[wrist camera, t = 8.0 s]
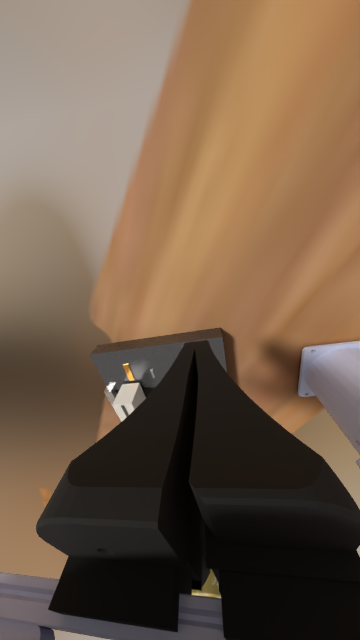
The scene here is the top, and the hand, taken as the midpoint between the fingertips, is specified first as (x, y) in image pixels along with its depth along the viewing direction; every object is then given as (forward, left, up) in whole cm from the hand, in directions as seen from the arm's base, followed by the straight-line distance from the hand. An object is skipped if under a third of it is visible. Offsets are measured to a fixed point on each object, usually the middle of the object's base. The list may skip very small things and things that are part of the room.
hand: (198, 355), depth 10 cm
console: (+6, +11, -10) cm, 16 cm away
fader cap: (+10, +11, -8) cm, 17 cm away
